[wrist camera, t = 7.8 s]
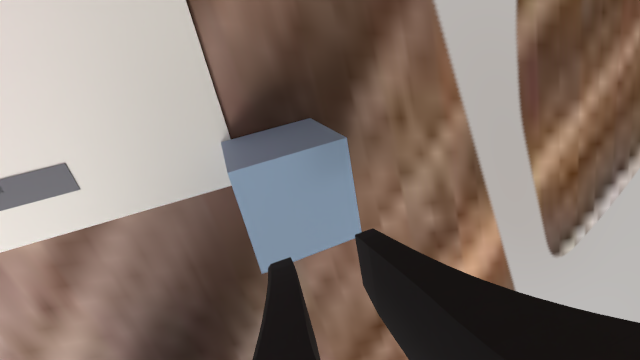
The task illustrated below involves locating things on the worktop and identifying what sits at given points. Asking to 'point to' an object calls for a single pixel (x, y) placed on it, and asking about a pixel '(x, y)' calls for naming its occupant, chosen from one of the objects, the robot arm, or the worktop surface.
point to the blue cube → (293, 190)
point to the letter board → (101, 114)
